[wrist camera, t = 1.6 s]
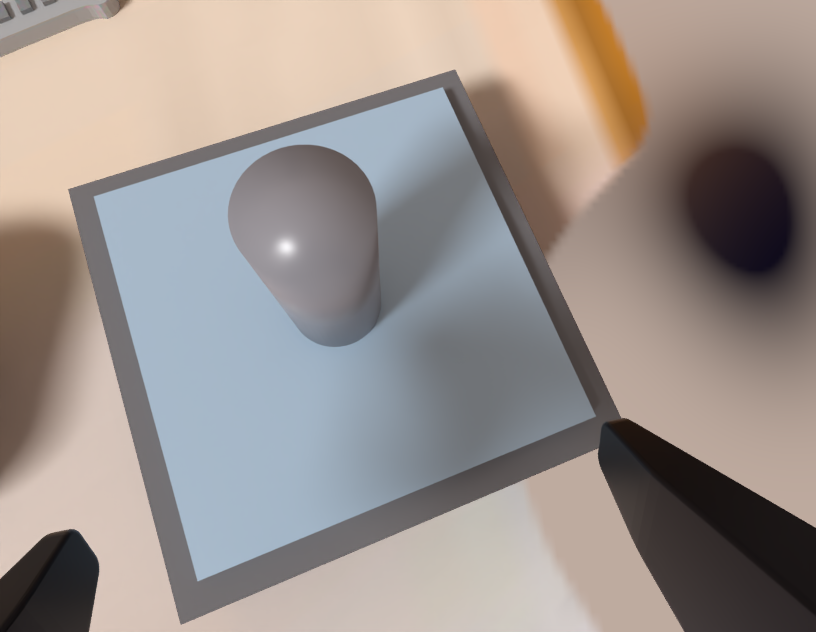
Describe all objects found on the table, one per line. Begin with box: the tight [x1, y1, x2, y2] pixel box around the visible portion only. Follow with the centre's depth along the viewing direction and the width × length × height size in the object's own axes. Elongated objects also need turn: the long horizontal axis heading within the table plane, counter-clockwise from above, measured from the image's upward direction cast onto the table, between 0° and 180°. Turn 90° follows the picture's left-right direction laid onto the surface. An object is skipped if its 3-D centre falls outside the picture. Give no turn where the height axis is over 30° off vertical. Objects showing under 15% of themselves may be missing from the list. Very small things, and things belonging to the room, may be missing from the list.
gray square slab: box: [68, 70, 621, 624], centre depth 20 cm, size 15×15×4 cm
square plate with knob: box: [94, 87, 596, 581], centre depth 14 cm, size 13×13×8 cm
